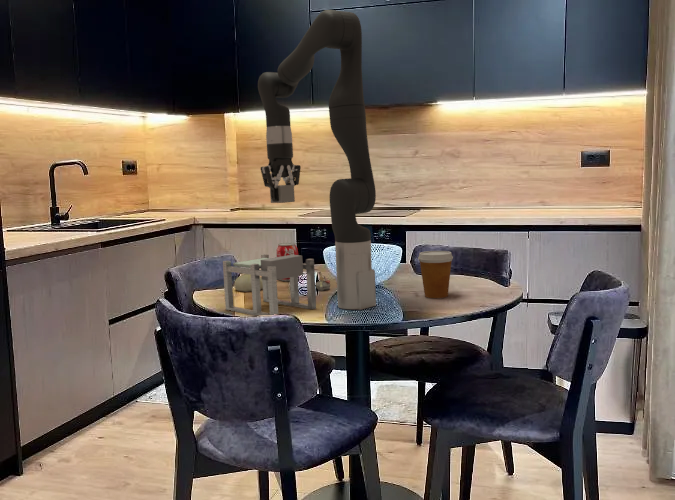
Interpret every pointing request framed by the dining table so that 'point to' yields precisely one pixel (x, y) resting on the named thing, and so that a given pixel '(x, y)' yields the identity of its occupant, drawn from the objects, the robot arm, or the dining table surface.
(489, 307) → the dining table surface
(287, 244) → the soda can
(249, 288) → the sea urchin shell
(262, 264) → the trapdoor
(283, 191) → the basalt cube
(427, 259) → the disposable coffee cup
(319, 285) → the figurine
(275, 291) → the frame
